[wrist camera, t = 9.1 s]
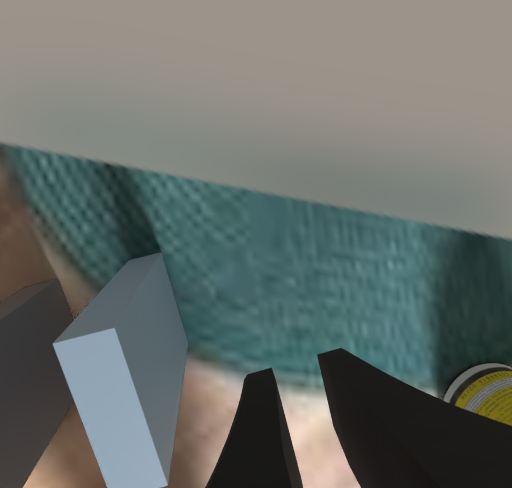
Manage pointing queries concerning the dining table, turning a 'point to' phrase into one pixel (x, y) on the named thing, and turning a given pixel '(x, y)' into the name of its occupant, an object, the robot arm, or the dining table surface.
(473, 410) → the supplement bottle
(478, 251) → the dining table surface
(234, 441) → the robot arm
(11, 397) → the domino
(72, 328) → the slate domino
